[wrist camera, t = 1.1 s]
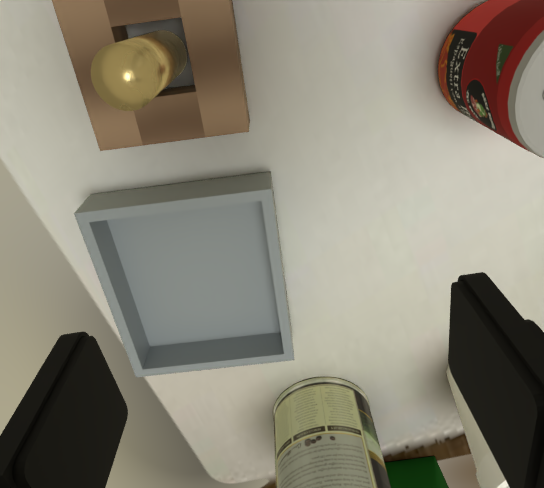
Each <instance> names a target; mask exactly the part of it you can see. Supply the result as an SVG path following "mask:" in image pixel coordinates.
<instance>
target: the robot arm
mask: <svg viewBox="0 0 544 488" xmlns="http://www.w3.org/2000/svg"><path fill="white" fill-rule="evenodd" d="M448 363H449V368H450V372H451V374H452V377H453V378H454V380H455V382H456V384H457V386H458V388H459V390H460V392H461V394H462V396H463V398H464V400H465V402H466V404H467V406H468V408H469V410H470V412H471V413H472V415H473V417H474V419H475V421H476V423H477V425H478V427H479V429H480V431H481V433H482V435H483V437H484V439H485V441H486V443H487V445H488V447H489V448H490V450H491V452H492V454H493V456H494V458H495V460H496V462H497V464H498V466H499V468H500V470H501V472H502V474H503V476H504V478H505V480H506V482H507V483H508V485H509V487H510V488H544V332H543V331H542V330H541V329H540V328H539V326H538V325H537V324H535V323H534V322H533V321H531V320H529V319H528V320H524V319H523V318H522V316H521V315H520V314H519V313H518V312H517V310H516V309H515V308H514V307H513V306H512V304H511V303H510V302H509V301H508V300H507V298H506V297H505V296H504V295H503V294H502V292H501V291H500V290H499V289H498V288H497V286H496V285H495V284H494V283H493V282H492V280H491V279H490V278H489V277H488V276H487V275H486V274H485V273H483V272H481V273H475V274H468V275H461V276H459V278H458V282H453V283H452V285H451V305H450V330H449V355H448ZM127 415H128V410H127V406H126V403H125V401H124V399H123V396H122V394H121V392H120V390H119V388H118V386H117V384H116V381H115V379H114V377H113V375H112V373H111V371H110V369H109V367H108V365H107V362H106V360H105V358H104V356H103V354H102V352H101V350H100V347H99V345H98V343H97V341H96V339H95V338H94V337H93V336H89V335H88V334H87V333H86V332H77V333H71V334H64V335H61V336H60V337H59V339H58V340H57V342H56V344H55V345H54V347H53V349H52V351H51V352H50V354H49V355H48V357H47V359H46V360H45V362H44V364H43V365H42V367H41V369H40V370H39V372H38V374H37V375H36V377H35V379H34V381H33V382H32V384H31V385H30V387H29V389H28V390H27V392H26V394H25V396H24V397H23V399H22V400H21V402H20V404H19V405H18V407H17V409H16V411H15V412H14V414H13V415H12V417H11V419H10V421H9V422H8V424H7V426H6V427H5V429H4V430H3V432H2V434H1V436H0V488H105V486H106V483H107V480H108V477H109V474H110V471H111V468H112V465H113V461H114V458H115V455H116V452H117V449H118V446H119V443H120V439H121V436H122V433H123V430H124V427H125V424H126V421H127Z"/></svg>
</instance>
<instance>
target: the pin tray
mask: <svg viewBox="0 0 544 488" xmlns="http://www.w3.org/2000/svg"><path fill="white" fill-rule="evenodd" d="M74 215H75V217H76V220H77V222H78V225H79V228H80V230H81V233H82V236H83V238H84V241H85V244H86V246H87V249H88V252H89V254H90V257H91V259H92V262H93V265H94V267H95V270H96V273H97V275H98V278H99V281H100V283H101V286H102V289H103V291H104V294H105V296H106V299H107V302H108V304H109V307H110V310H111V312H112V315H113V318H114V320H115V323H116V326H117V328H118V331H119V333H120V336H121V339H122V341H123V344H124V347H125V349H126V352H127V355H128V357H129V360H130V362H131V365H132V367H133V370H134V373H135V376H136V377H143V376H152V375H161V374H171V373H180V372H189V371H198V370H207V369H217V368H226V367H235V366H244V365H253V364H263V363H272V362H281V361H290V360H294V351H293V341H292V331H291V323H290V316H289V308H288V301H287V293H286V285H285V278H284V270H283V263H282V255H281V247H280V240H279V232H278V225H277V217H276V209H275V202H274V194H273V187H272V179H271V172H264V173H256V174H248V175H240V176H232V177H224V178H216V179H208V180H201V181H193V182H185V183H177V184H169V185H161V186H153V187H145V188H137V189H129V190H121V191H113V192H105V193H97V194H91V195H90V196H89V197H88V198H87V199H86V200H85V202H84V203H83V204H82V205H81V206H80V207H79V208H78V210H77V211H76V212H75V213H74Z"/></svg>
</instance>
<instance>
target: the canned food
mask: <svg viewBox="0 0 544 488" xmlns="http://www.w3.org/2000/svg"><path fill="white" fill-rule="evenodd" d="M438 76H439V83H440V86H441V89H442V92H443V95H444V96H445V98H446V99H447V101H448V102H449V104H450V105H452V106H453V107H454V108H455V109H456V110H457V111H459V112H461V113H462V114H464V115H466V116H468V117H469V118H471V119H473V120H475V121H476V122H478V123H480V124H482V125H483V126H485V127H487V128H489V129H490V130H492V131H494V132H496V133H497V134H499V135H501V136H503V137H504V138H506V139H508V140H510V141H511V142H513V143H515V144H517V145H518V146H520V147H522V148H524V149H526V150H528V151H530V152H532V153H534V154H536V155H537V156H539V157H542V158H544V0H488V1H486V2H485V3H483V4H481V5H479V6H477V7H476V8H474V9H473V10H472V11H471V12H469V13H468V14H467V15H466V16H464V17H463V18H462V19H461V20H460V21H459V22H458V23H457V24H456V26H455V27H454V28H453V29H452V31H451V32H450V34H449V35H448V37H447V38H446V41H445V43H444V45H443V47H442V50H441V54H440V57H439V63H438Z"/></svg>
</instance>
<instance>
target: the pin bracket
mask: <svg viewBox="0 0 544 488" xmlns="http://www.w3.org/2000/svg"><path fill="white" fill-rule="evenodd" d="M52 2H53V5H54V9H55V12H56V15H57V18H58V21H59V24H60V27H61V30H62V33H63V37H64V40H65V43H66V46H67V49H68V52H69V55H70V58H71V61H72V64H73V68H74V71H75V74H76V77H77V80H78V83H79V86H80V89H81V92H82V96H83V99H84V102H85V105H86V108H87V111H88V114H89V117H90V120H91V124H92V127H93V130H94V133H95V136H96V139H97V142H98V145H99V148H100V151H103V150H111V149H118V148H126V147H134V146H141V145H149V144H157V143H165V142H172V141H180V140H188V139H195V138H203V137H211V136H218V135H226V134H234V133H242V132H249V124H250V119H249V112H248V105H247V98H246V91H245V85H244V78H243V71H242V64H241V57H240V51H239V44H238V37H237V30H236V23H235V17H234V10H233V3H232V0H52ZM179 17H181V18H182V23H183V28H184V33H185V38H186V43H187V48H188V53H189V58H190V63H191V68H192V73H193V78H194V83H195V85H190V86H182V87H175V88H167V89H163V90H162V91H161V92H160V93H159V94H158V95H157V96H156V97H154V98H153V99H152V100H151V101H150V102H149V103H148V104H147V105H145V106H144V107H142V108H141V109H138V110H134V111H123V110H119V109H116V108H114V107H112V106H110V105H108V104H107V103H106V102H105V101H104V100H103V99H102V98H101V97H100V96H99V95H98V93H97V92H96V90H95V88H94V86H93V83H92V79H91V65H92V61H93V59H94V57H95V55H96V54H97V53H98V52H99V50H101V49H102V48H103V47H105V46H107V45H110V44H113V43H117V42H120V41H124V40H127V39H128V36H127V32H126V28H125V25H129V24H136V23H143V22H150V21H158V20H165V19H172V18H179Z"/></svg>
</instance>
